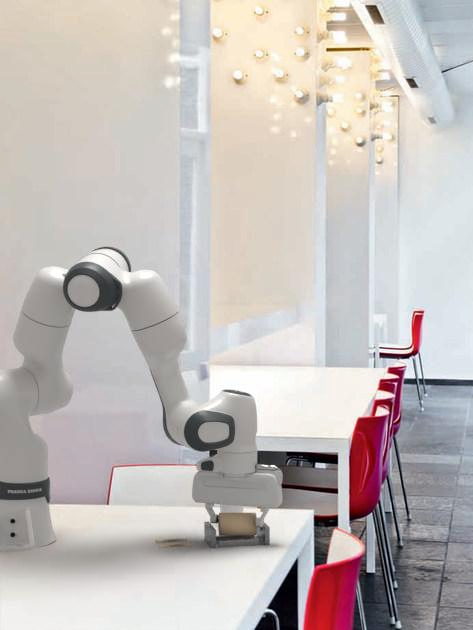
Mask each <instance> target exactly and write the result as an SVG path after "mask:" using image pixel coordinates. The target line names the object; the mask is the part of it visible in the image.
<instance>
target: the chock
mask: <svg viewBox="0 0 473 630" xmlns="http://www.w3.org/2000/svg"><path fill="white" fill-rule="evenodd" d="M177 542H178V543H177ZM179 542H188V539H187V538H186V537H185V538H172V539H171V538H170V539H167V538H166V539H155V542H154V543H156V544H160V545H158V548H176V547H190V546H192V545H191V543H179ZM163 543H175V544H163ZM176 543H177V544H176Z"/></svg>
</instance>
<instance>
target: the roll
mask: <svg viewBox="0 0 473 630" xmlns="http://www.w3.org/2000/svg"><path fill="white" fill-rule="evenodd" d="M218 514H219V518H218V519H219V520H218V523H217V524H218V525H217V527H218V529H217V532H218V536H244V535H255V536H256V533H257V527H256V519H257V518H258V517H257V513H256V512H243V513H220V512H219V513H218Z"/></svg>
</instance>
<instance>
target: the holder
mask: <svg viewBox="0 0 473 630" xmlns="http://www.w3.org/2000/svg"><path fill="white" fill-rule="evenodd" d="M203 523H204V524H203V525H204V526H203V527H204V531H203V532H204V533H203V535H204V537H203V538H204V540H203V541H204V542H207V543H206V544H207V545H208V546H209V547H210V549H221V548H238V547H253V546H254V547H256V546H270V533H271V531H270V530H271V527H270V526H269V525H268V524H267V523H266V522H265V521H264V526H263V527H257V533H256V535H244V536H219V535H217V529H216V528H215V527H214V526H213V525H212V523H210V520H209V521H204V522H203Z"/></svg>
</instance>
